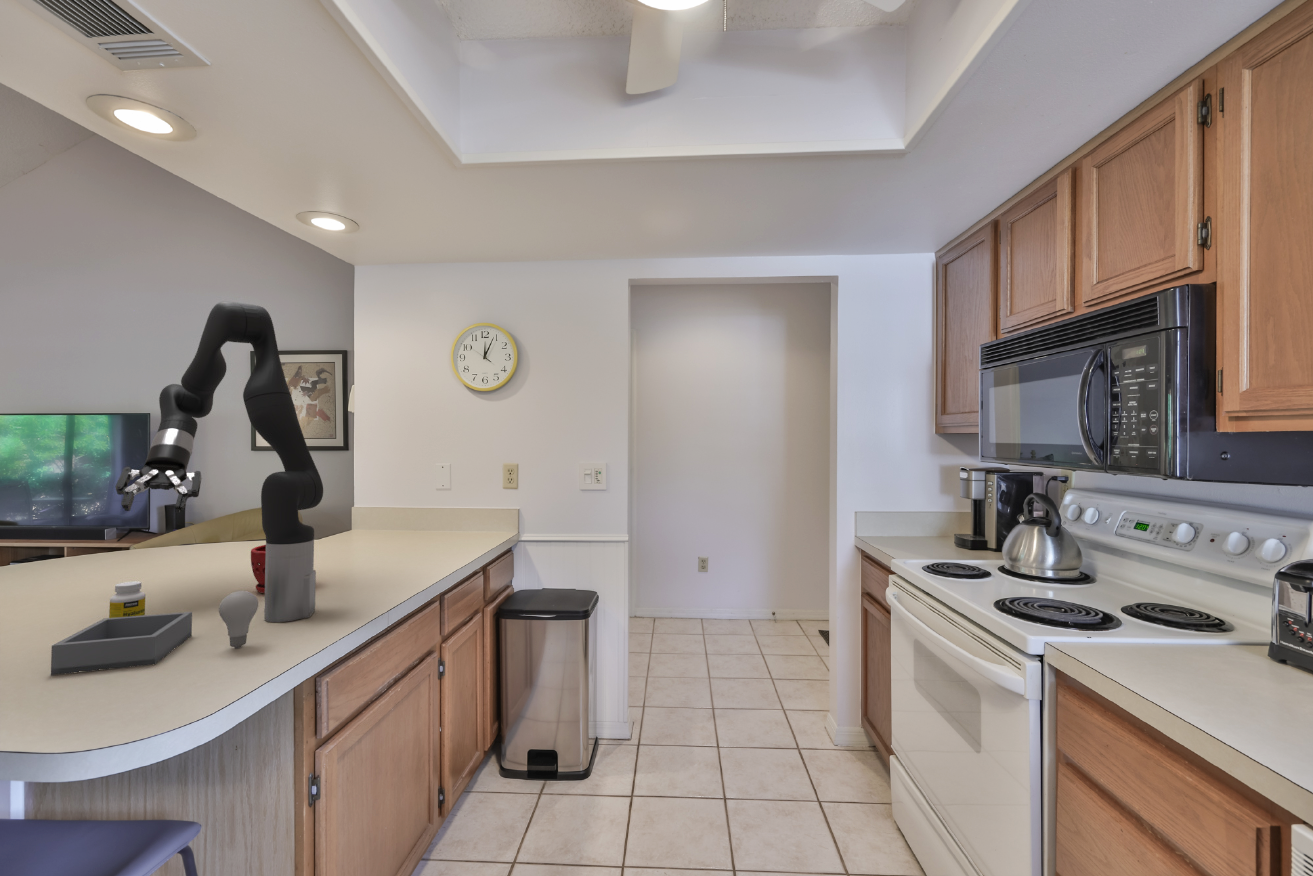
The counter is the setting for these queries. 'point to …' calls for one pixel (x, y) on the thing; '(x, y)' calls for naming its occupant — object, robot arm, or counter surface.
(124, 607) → the supplement bottle
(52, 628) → the counter surface
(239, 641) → the lightbulb
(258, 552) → the plant pot
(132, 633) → the tote
